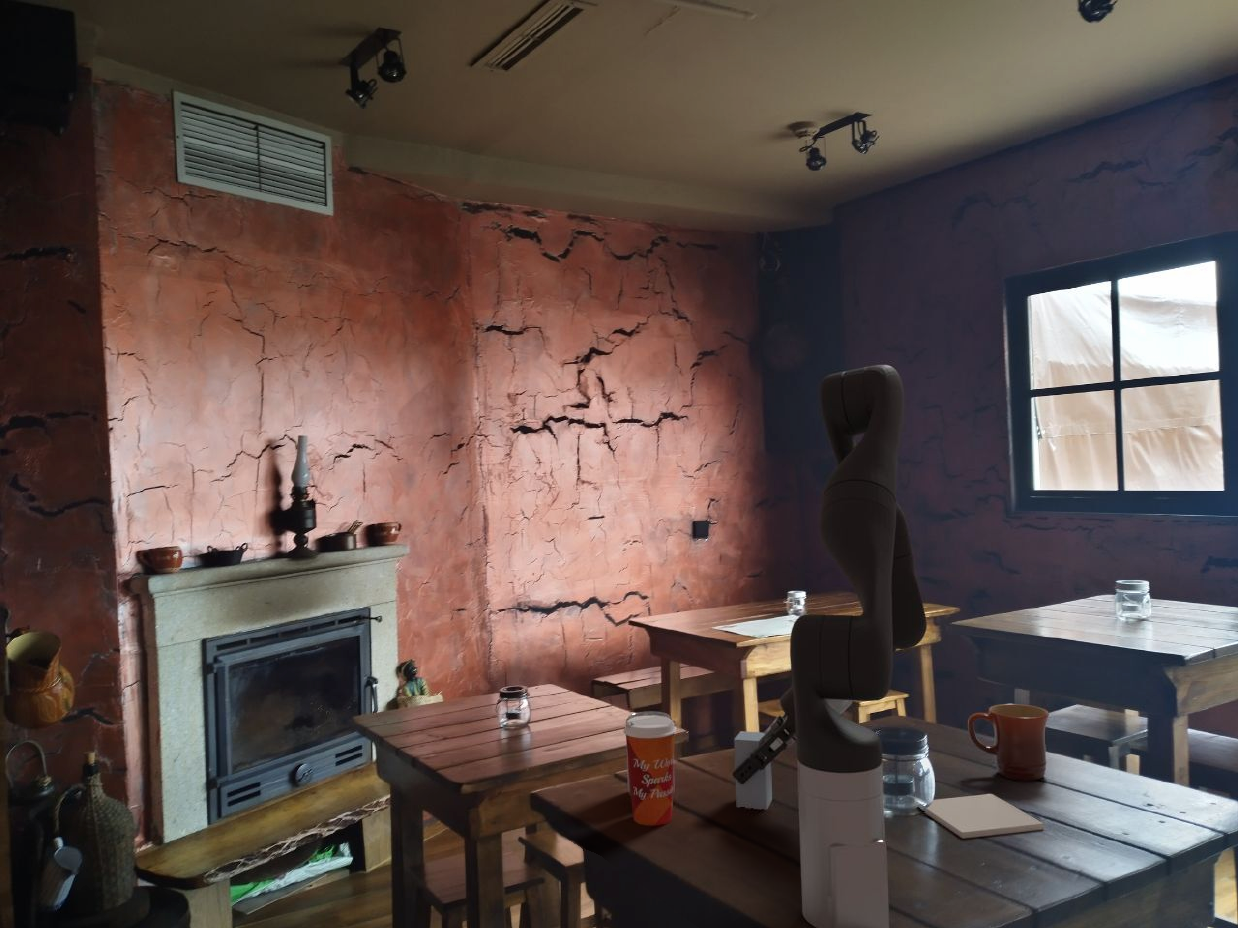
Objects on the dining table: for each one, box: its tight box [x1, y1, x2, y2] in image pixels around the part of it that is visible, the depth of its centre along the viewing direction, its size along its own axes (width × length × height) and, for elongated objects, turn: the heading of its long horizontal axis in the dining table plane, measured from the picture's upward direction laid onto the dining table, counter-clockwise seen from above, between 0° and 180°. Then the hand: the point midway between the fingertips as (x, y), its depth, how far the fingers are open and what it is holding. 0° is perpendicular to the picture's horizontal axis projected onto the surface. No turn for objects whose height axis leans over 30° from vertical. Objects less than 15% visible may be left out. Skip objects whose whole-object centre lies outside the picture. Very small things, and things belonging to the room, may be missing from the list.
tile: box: [924, 793, 1045, 840], centre depth 129 cm, size 12×12×1 cm
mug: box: [967, 703, 1050, 782], centre depth 147 cm, size 12×9×10 cm
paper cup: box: [623, 716, 678, 827], centre depth 133 cm, size 8×8×14 cm
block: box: [733, 730, 773, 811], centre depth 138 cm, size 4×4×10 cm
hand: (741, 772), depth 138 cm, fingers open, 5 cm apart
